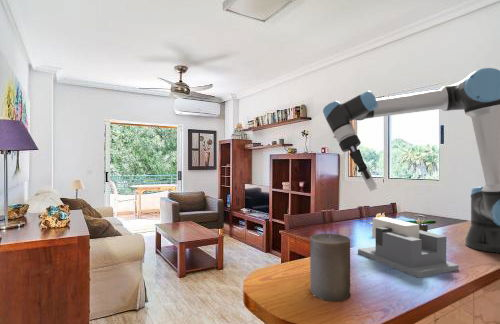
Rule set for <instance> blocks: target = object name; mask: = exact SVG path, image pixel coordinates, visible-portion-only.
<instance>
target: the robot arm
mask: <svg viewBox="0 0 500 324" xmlns="http://www.w3.org/2000/svg"><path fill="white" fill-rule="evenodd" d="M436 110H442V111H443V112H449V111H458V110H461V111H462V110H464V114H465V115H466V116H468V117H470V119H471V122H472V126H473V131H474V136H475V141H476V145H477V150H478V155H479V159H480V163H481V167H482V173H483V178H484V182H485V185H484V186H475V187H473V188H472V189H471V193H470V227H469V229H468V232H467V234H466V236H465V241H464V242H465V243H464V245H465V246H467V247H468V248H471V249H474V250H479V251H484V252H488V253H495V252H496V253H498V254H500V70H499V69H497V68H494V67H484V68H480V69H476V70H475V71H472V72H471V73H469V74H468V75H467V76H466V77H465V78H464V79H462V80H460V81H459V82H456V83H454V84H450V85H443V86H442V87H441V88H440V89H436V90H428V91H422V92H421V91H420V92H413V93H409V94H408V93H407V94H402V95H396V96H389V97H388V96H387V97H381V98H376V96H375V95H374V93H373V92H372V91H371V90H367V91H365V92H363V93H360V94H359V95H357V96H355V97H353V98H351V99H349V100H347V101H345V102H343V103H341V102H340V101H337V100H335V101H332V102H330V103H328V104H327V105H325V106H324V107H323V109H322V113H323V115H324V118H325V120H326V123H327V124H328V126H329V127H330V130H331V132H332V134H333V139H336V141H337V143H338V146H339V147H340V150H341V151H342V152H344V153H345V152H346V153H347V152H350V153H348V154H349V157H350V158H351V159H352V161H353V163H354V164H355V165H356V166H357V168H358V169H357V171H358V173H360V175H361V176H362V179H363V180H364V182H365V184H366V186H367V189H369V192H372V191H373V192H374V191H375V190H377V189H378V188H377V187H378V186H377V184H376V182H375V179H374V178H373V176H372V174H371V171H370V170H369V168H368V166H367V164H366V162H365V161H364V159H363V156H362V153H361V150H360V149H359V148H357V147H359V146H360V145H361V143H362V142H361V140H360V138H359V136H358V135H357V132H356V130H355V129H354V127H353V125H352V123H351V122H352V121H353V120H356V121H363V120H366V119H373V118H380V117H388V116H395V115H403V114H405V115H406V114H410V113H411V114H412V113H419V112H420V113H421V112H427V111H436Z"/></svg>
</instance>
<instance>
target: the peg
mask: <svg viewBox="0 0 500 324" xmlns="http://www.w3.org/2000/svg"><path fill="white" fill-rule="evenodd" d="M414 223H415V222H409V221H405V220H400V219H396V218H392V217H387V216H380V217H372V234H371V236H372V239H375V240H376V227H388V228H392V232H396V233H399V234H403V235H407V236H410V237H414V238H418V239H419V224H420V223H418V224H417V223H415V224H414Z"/></svg>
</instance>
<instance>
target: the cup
mask: <svg viewBox="0 0 500 324" xmlns="http://www.w3.org/2000/svg"><path fill="white" fill-rule="evenodd" d="M413 223H414V224H419V230H422V231H426V232H428V229H429V226H428V224H424V223H423V224H422V223H418V222H417V223H415V222H413Z"/></svg>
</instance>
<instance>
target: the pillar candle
mask: <svg viewBox="0 0 500 324" xmlns="http://www.w3.org/2000/svg"><path fill="white" fill-rule="evenodd" d="M309 239H310V240H309V243H310V245H309V246H310V252H309V253H310V257H309V259H310V261H309V263H310V275H309V276H310V282H309V283H310V293H311V292H312V293H311V294H312V295H313V296H314V295H315V296H316V297H315V296H314V297H315V298H317V297H318V298H317V299H319V298H320V299H319V300H322V299H323V301H327V302H340V301H346V300H348V299H350V297H351V239H350V238H349V237H348V236H345V235H342V234H338V233H332V232H330V233H317V234H313V235H311V236H310V237H309Z"/></svg>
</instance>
